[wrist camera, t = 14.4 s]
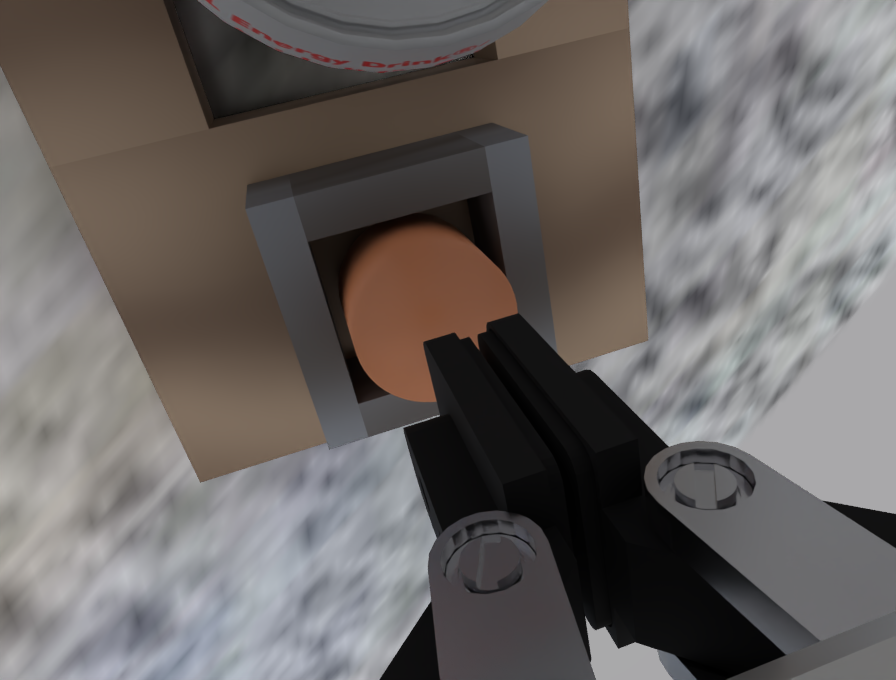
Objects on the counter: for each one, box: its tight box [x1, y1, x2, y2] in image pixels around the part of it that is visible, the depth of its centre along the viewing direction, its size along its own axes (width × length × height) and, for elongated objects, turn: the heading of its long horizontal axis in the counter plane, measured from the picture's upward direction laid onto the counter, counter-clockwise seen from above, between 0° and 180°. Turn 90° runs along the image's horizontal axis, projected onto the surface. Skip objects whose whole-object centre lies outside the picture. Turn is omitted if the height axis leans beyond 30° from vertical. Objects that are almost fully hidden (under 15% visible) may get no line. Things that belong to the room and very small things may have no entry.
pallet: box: [0, 0, 648, 482], centre depth 15 cm, size 18×14×4 cm
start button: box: [338, 213, 518, 402], centre depth 15 cm, size 4×4×3 cm
